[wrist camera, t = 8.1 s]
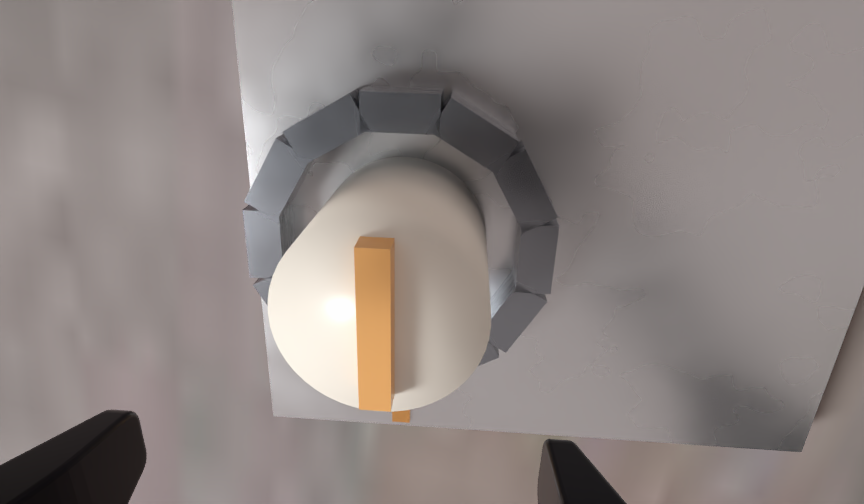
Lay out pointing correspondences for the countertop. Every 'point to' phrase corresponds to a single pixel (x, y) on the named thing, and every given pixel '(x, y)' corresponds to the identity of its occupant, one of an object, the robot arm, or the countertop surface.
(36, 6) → the countertop surface
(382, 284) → the knob
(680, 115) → the hub plate
